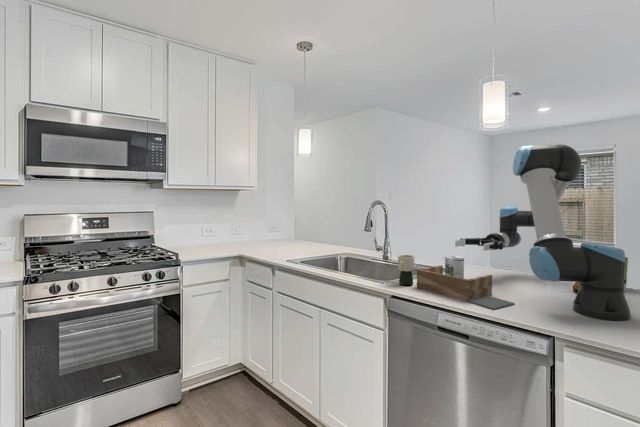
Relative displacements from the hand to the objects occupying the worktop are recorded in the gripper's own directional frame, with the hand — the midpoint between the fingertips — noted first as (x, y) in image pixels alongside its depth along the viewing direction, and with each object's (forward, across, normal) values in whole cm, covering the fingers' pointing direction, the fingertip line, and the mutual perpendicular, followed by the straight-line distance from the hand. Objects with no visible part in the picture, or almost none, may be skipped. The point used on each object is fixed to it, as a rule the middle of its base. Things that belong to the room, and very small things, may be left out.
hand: (469, 245), depth 154 cm
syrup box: (+11, 0, -18) cm, 21 cm away
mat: (+14, -18, -18) cm, 29 cm away
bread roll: (-29, -34, -19) cm, 48 cm away
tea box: (-43, -33, -19) cm, 58 cm away
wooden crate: (+11, 0, -18) cm, 21 cm away
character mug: (+19, +18, -18) cm, 33 cm away
